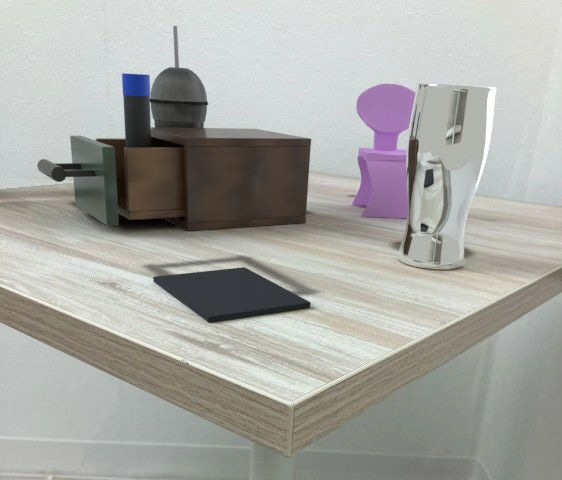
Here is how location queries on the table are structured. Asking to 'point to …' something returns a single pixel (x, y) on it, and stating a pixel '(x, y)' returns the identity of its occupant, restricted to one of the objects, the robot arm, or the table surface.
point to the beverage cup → (178, 96)
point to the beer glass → (444, 170)
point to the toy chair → (384, 151)
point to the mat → (229, 293)
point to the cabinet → (240, 177)
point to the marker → (137, 110)
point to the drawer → (123, 178)
